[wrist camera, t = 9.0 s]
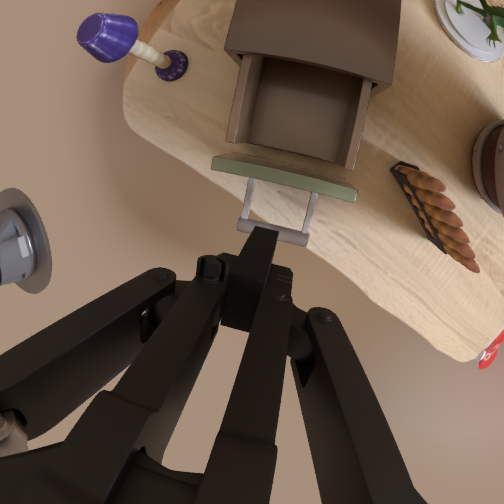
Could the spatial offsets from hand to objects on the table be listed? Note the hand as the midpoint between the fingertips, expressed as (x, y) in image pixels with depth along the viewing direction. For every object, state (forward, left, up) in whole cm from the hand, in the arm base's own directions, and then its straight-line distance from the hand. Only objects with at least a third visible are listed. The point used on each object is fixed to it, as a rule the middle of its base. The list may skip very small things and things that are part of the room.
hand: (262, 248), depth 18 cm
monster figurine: (+20, +32, -17) cm, 41 cm away
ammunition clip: (+16, +4, -17) cm, 23 cm away
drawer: (0, +8, -15) cm, 17 cm away
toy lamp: (-16, +14, -17) cm, 27 cm away
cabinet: (0, +22, -16) cm, 27 cm away
